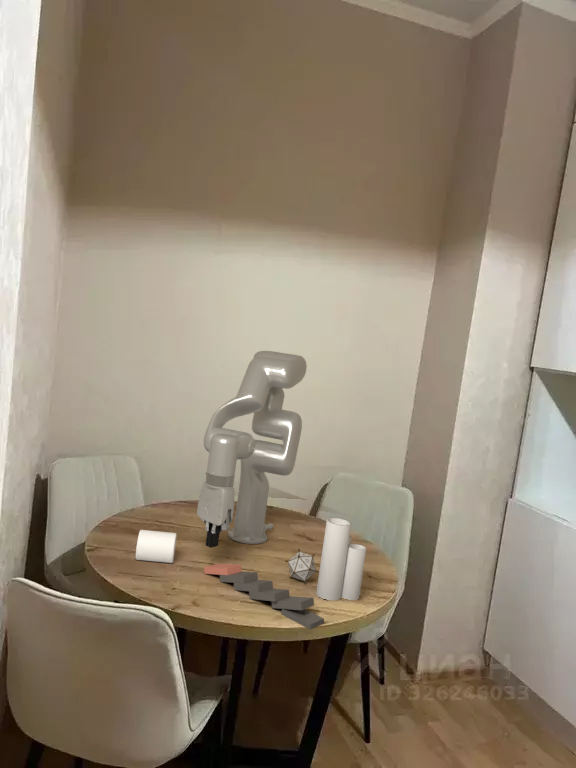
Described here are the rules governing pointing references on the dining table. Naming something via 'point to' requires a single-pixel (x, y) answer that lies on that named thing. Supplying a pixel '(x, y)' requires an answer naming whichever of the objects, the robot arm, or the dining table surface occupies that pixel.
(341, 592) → the vase
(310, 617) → the grey domino block
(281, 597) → the black tile
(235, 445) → the robot arm
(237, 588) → the dark gray domino tile
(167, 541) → the mug
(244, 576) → the black tile
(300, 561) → the game die
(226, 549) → the dining table surface
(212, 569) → the red tile
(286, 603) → the black tile
